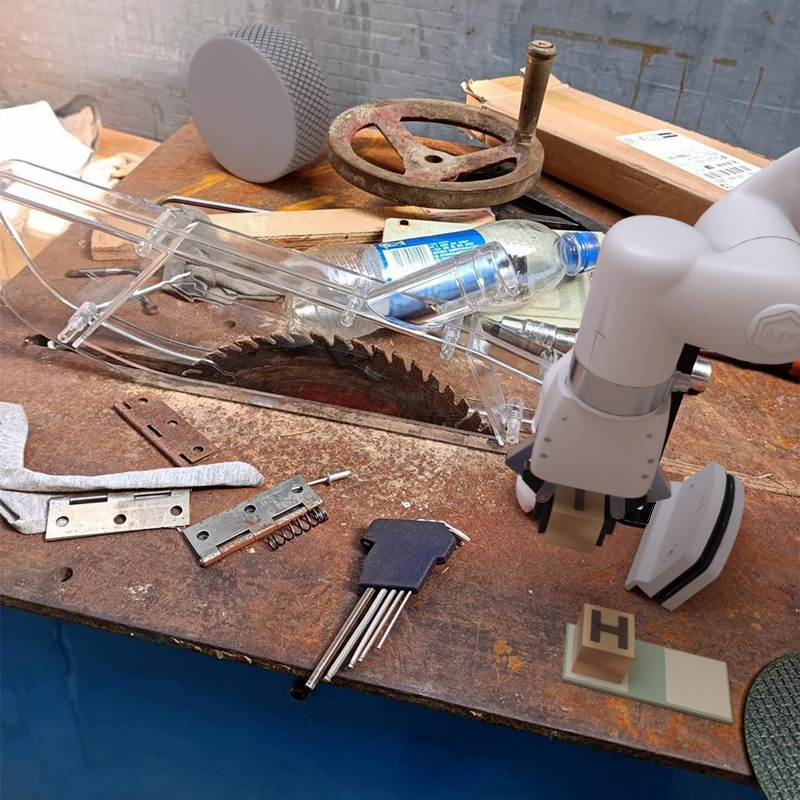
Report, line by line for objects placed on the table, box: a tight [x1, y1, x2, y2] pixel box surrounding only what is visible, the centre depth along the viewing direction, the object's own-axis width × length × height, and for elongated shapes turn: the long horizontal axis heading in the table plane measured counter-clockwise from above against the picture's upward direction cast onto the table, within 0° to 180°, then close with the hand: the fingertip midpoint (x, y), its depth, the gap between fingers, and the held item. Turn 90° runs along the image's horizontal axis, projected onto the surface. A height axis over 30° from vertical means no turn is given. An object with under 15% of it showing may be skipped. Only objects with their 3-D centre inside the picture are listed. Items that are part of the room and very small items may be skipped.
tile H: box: [571, 602, 635, 684], centre depth 69 cm, size 4×4×5 cm
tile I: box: [543, 484, 606, 554], centre depth 69 cm, size 4×4×5 cm
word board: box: [561, 622, 734, 725], centre depth 70 cm, size 15×6×1 cm, turn 77°
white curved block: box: [623, 461, 745, 612], centre depth 79 cm, size 17×5×10 cm, turn 152°
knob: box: [186, 22, 333, 184], centre depth 135 cm, size 25×10×25 cm, turn 58°
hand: (570, 527), depth 70 cm, fingers closed on tile I, 4 cm apart
